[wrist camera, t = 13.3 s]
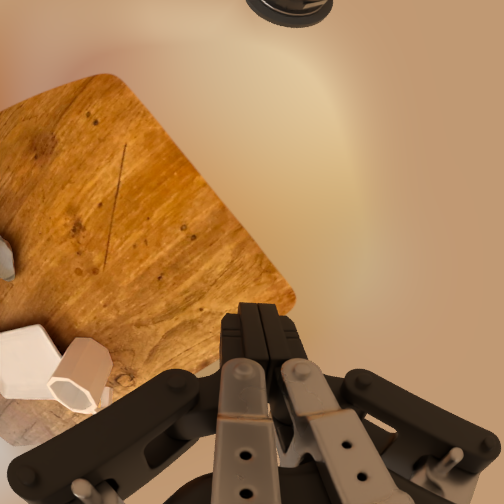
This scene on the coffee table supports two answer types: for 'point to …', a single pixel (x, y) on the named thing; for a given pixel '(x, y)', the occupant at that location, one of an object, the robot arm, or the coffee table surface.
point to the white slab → (27, 363)
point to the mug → (83, 377)
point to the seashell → (6, 261)
